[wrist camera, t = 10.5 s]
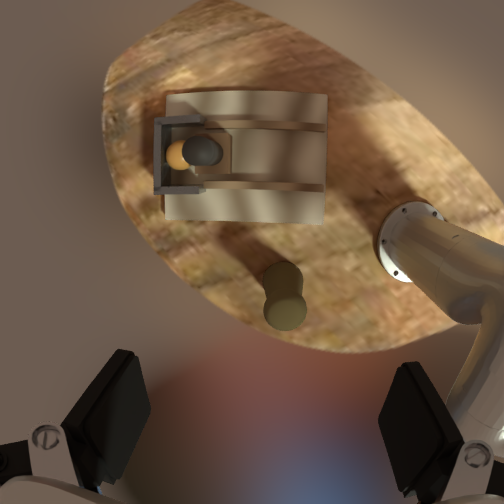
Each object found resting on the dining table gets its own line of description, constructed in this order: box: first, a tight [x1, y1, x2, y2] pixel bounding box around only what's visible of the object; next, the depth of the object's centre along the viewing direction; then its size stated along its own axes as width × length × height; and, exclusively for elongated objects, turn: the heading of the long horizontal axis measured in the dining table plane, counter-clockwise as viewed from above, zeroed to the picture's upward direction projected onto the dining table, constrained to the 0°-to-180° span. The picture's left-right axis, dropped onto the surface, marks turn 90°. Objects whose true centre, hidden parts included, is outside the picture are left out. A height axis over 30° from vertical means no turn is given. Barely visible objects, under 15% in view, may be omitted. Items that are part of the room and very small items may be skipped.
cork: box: [263, 262, 307, 331], centre depth 38 cm, size 6×6×11 cm
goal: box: [154, 114, 207, 195], centre depth 36 cm, size 6×10×4 cm, turn 179°
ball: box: [166, 140, 192, 170], centre depth 36 cm, size 4×4×4 cm
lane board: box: [165, 91, 328, 225], centre depth 37 cm, size 22×18×3 cm
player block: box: [182, 133, 233, 174], centre depth 32 cm, size 4×5×11 cm
